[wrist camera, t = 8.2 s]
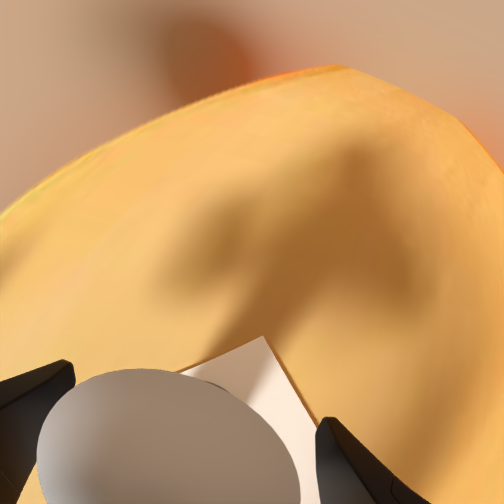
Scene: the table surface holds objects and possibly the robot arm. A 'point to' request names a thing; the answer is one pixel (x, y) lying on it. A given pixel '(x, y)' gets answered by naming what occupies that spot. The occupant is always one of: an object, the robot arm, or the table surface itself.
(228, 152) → the table surface
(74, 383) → the robot arm
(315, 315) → the table surface
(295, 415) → the notepad
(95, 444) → the marker
